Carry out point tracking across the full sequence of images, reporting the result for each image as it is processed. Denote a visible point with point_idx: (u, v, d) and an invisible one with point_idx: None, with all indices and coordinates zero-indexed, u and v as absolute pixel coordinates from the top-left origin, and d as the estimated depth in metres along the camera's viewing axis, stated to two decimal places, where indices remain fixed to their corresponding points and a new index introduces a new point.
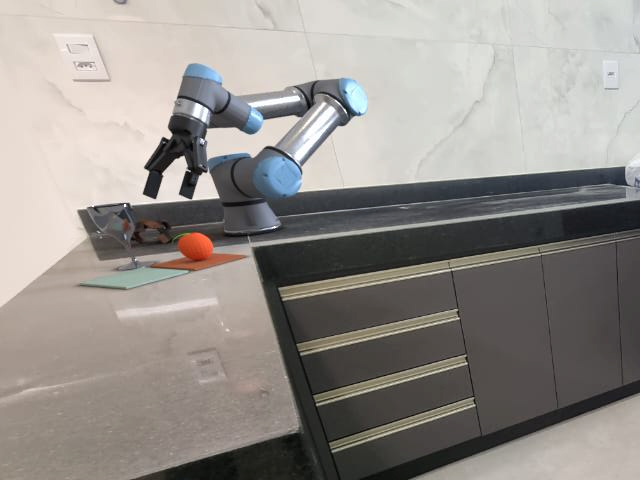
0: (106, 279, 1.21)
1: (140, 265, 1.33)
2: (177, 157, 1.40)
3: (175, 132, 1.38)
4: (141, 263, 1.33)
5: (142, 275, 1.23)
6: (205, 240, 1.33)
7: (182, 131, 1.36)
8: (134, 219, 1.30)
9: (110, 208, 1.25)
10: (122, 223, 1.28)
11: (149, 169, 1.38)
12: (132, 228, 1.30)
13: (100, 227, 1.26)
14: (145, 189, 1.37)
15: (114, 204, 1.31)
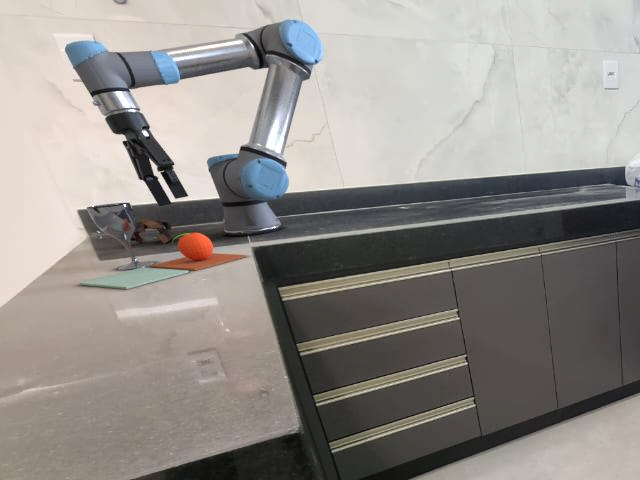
0: (106, 279, 1.21)
1: (140, 265, 1.33)
2: None
3: (123, 133, 1.31)
4: (141, 263, 1.33)
5: (142, 275, 1.23)
6: (205, 240, 1.33)
7: (125, 130, 1.29)
8: (134, 219, 1.30)
9: (110, 208, 1.25)
10: (122, 223, 1.28)
11: (143, 179, 1.38)
12: (132, 228, 1.30)
13: (100, 227, 1.26)
14: (157, 201, 1.40)
15: (114, 204, 1.31)
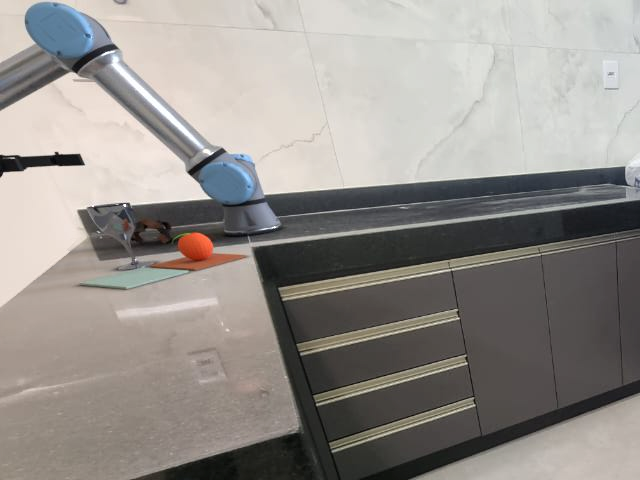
0: (106, 279, 1.21)
1: (140, 265, 1.33)
2: (17, 157, 1.27)
3: None
4: (141, 263, 1.33)
5: (142, 275, 1.23)
6: (205, 240, 1.33)
7: None
8: (134, 219, 1.30)
9: (110, 208, 1.25)
10: (122, 223, 1.28)
11: None
12: (132, 228, 1.30)
13: (100, 227, 1.26)
14: (77, 165, 1.30)
15: (114, 204, 1.31)
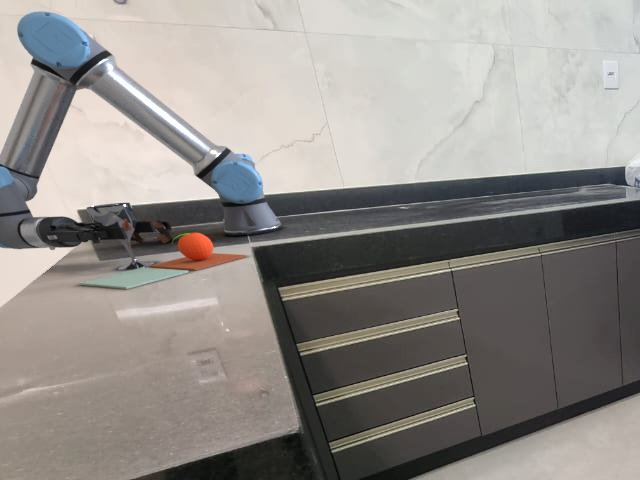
0: (106, 279, 1.21)
1: (140, 265, 1.33)
2: (95, 224, 1.32)
3: None
4: (141, 263, 1.33)
5: (142, 275, 1.23)
6: (205, 240, 1.33)
7: None
8: (134, 219, 1.30)
9: (110, 208, 1.25)
10: (122, 223, 1.28)
11: None
12: (132, 228, 1.30)
13: (100, 227, 1.26)
14: None
15: (114, 204, 1.31)
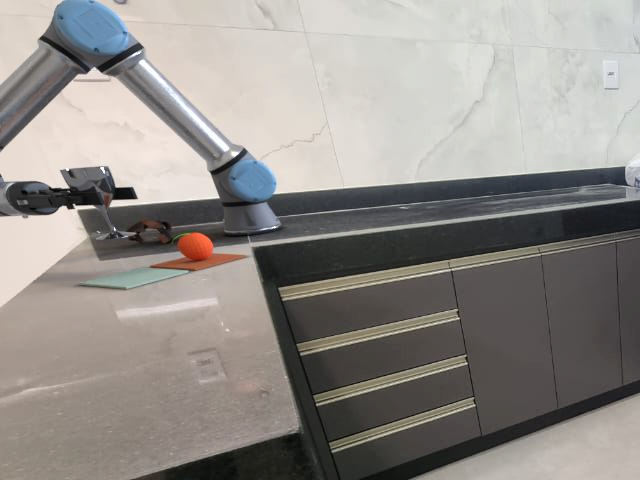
0: (106, 279, 1.21)
1: (120, 235, 1.21)
2: (71, 190, 1.21)
3: None
4: (120, 233, 1.22)
5: (142, 275, 1.23)
6: (205, 240, 1.33)
7: None
8: (113, 184, 1.19)
9: (85, 170, 1.14)
10: (99, 188, 1.16)
11: None
12: (110, 194, 1.19)
13: (75, 192, 1.15)
14: (130, 199, 1.22)
15: (91, 168, 1.19)
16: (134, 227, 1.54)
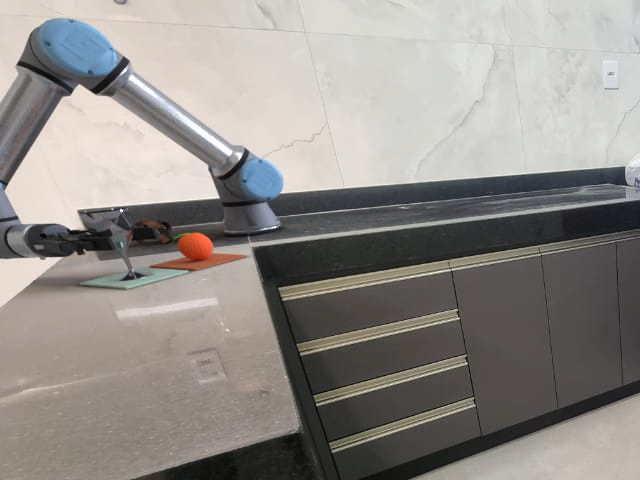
0: (106, 279, 1.21)
1: (138, 276, 1.21)
2: None
3: None
4: (139, 274, 1.22)
5: None
6: (205, 240, 1.33)
7: None
8: (131, 225, 1.19)
9: (105, 214, 1.13)
10: (118, 230, 1.16)
11: None
12: (129, 235, 1.18)
13: (94, 234, 1.15)
14: None
15: (109, 209, 1.19)
16: None
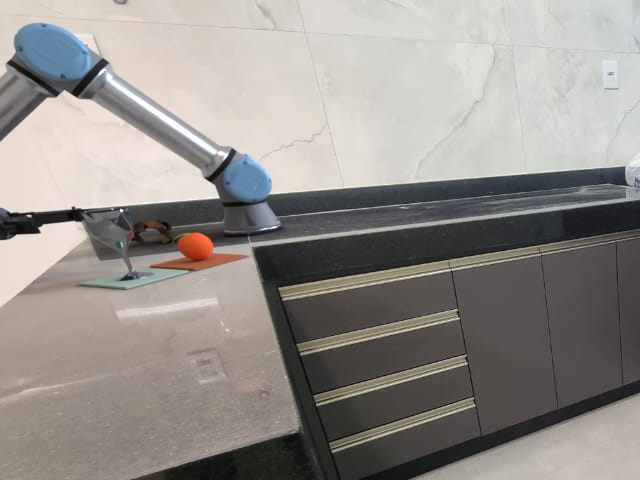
0: (106, 279, 1.21)
1: (138, 276, 1.21)
2: (32, 214, 1.21)
3: None
4: (139, 274, 1.22)
5: None
6: (205, 240, 1.33)
7: None
8: (131, 225, 1.19)
9: (105, 214, 1.13)
10: (118, 230, 1.16)
11: None
12: (129, 235, 1.18)
13: (94, 234, 1.15)
14: None
15: (109, 209, 1.19)
16: (134, 227, 1.54)
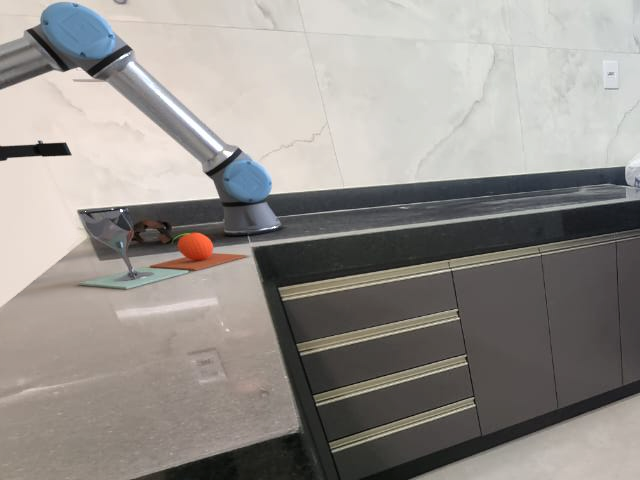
0: (106, 279, 1.21)
1: (138, 276, 1.21)
2: None
3: None
4: (139, 274, 1.22)
5: None
6: (205, 240, 1.33)
7: None
8: (131, 225, 1.19)
9: (105, 214, 1.13)
10: (118, 230, 1.16)
11: None
12: (129, 235, 1.18)
13: (94, 234, 1.15)
14: (63, 155, 1.18)
15: (109, 209, 1.19)
16: (134, 227, 1.54)
